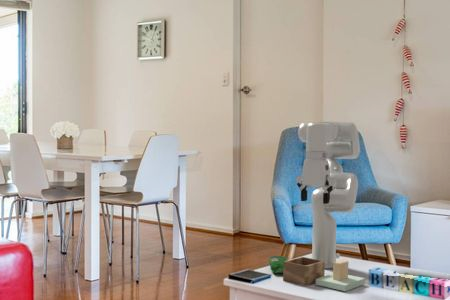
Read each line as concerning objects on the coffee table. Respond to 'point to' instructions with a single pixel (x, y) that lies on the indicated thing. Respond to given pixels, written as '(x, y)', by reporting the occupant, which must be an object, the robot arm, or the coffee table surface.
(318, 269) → the box
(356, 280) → the lid
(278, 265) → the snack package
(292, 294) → the coffee table surface
